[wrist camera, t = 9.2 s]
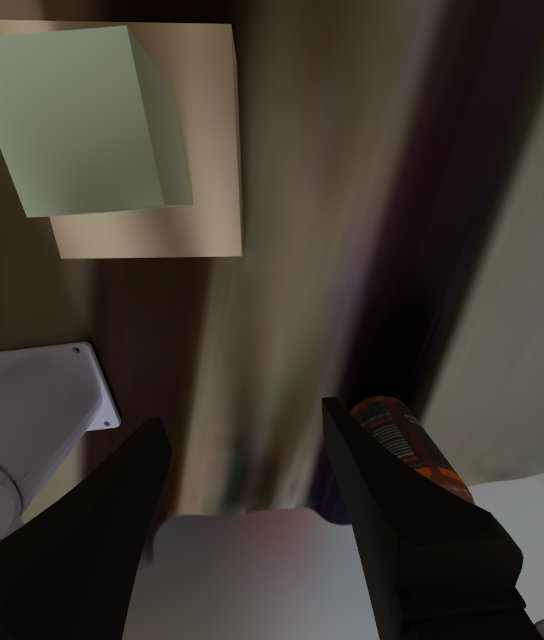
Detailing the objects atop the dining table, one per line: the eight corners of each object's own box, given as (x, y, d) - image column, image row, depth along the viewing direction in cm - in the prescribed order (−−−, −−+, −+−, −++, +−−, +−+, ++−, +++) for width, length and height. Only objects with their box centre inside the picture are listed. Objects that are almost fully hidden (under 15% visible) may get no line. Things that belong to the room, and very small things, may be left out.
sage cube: (98, 214, 15) (27, 217, 10) (64, 98, 13) (-42, 39, 8) (193, 205, 15) (164, 205, 10) (172, 89, 13) (126, 25, 8)
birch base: (98, 248, 19) (61, 258, 16) (56, 63, 16) (-8, 19, 12) (245, 246, 20) (241, 256, 16) (237, 65, 16) (231, 24, 12)
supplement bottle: (329, 429, 26) (377, 582, 15) (370, 381, 24) (456, 517, 14) (379, 452, 27) (455, 608, 17) (421, 409, 25) (536, 552, 15)
